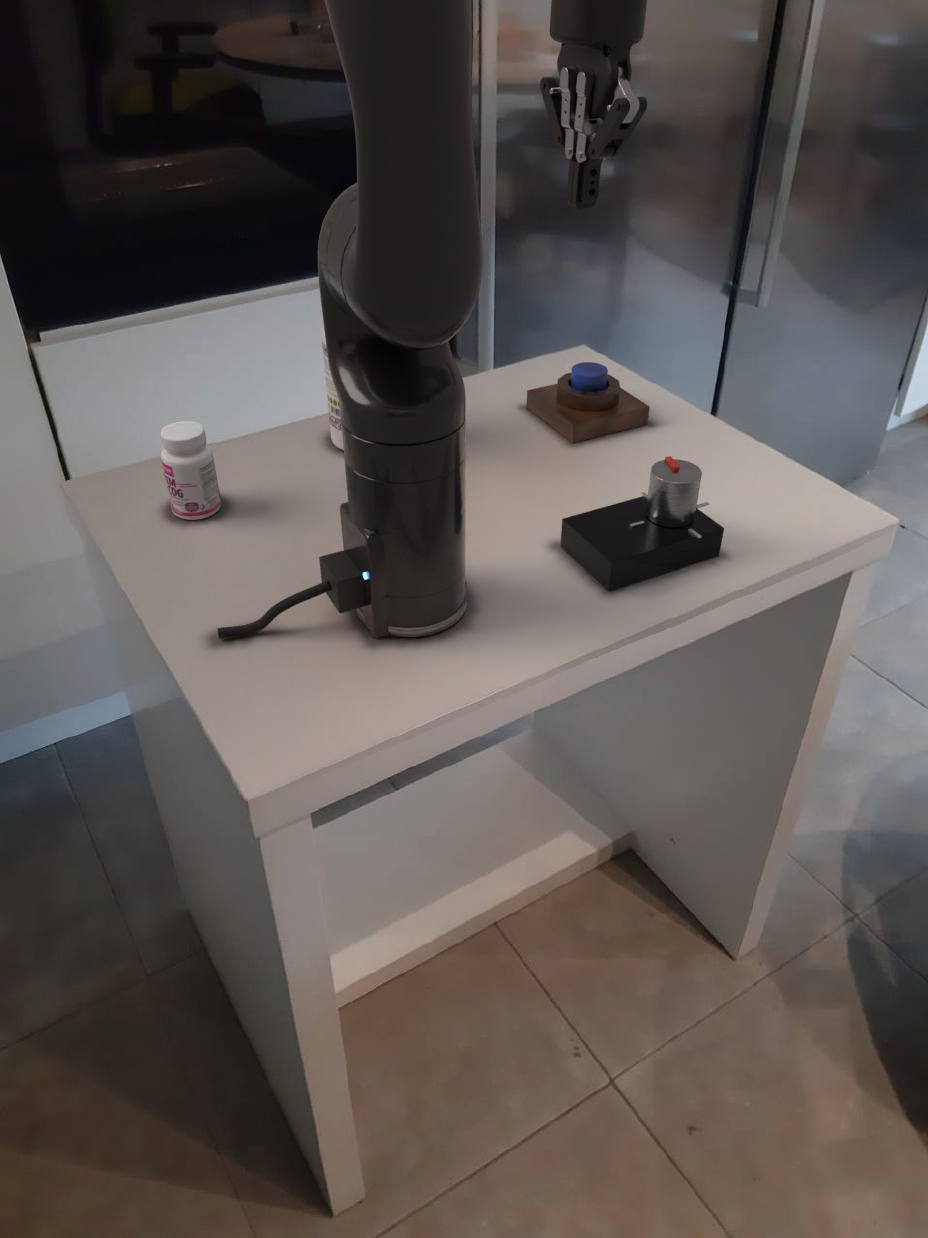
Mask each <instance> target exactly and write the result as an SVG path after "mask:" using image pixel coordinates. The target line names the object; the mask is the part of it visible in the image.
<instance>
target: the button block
mask: <svg viewBox="0 0 928 1238" xmlns="http://www.w3.org/2000/svg"><path fill="white" fill-rule="evenodd" d="M571 373H572V371H571V372H567V373H564V374H563V375H562V376H560V377H559V378H557V383H554V384H550V385H544V386H541V387H536V388H532V389H528V390H526V409H527V410H529V411H530V412H531V413H532V414H534V415H535V416H536V417H538V418H539V419H540V420H541V421H543V422H544V423H545V424H547V425H548V426H549V427H551V428H552V429H554V431H556V432H557V433H559V434H560V435H561V436H562V437H564V438H565V439H566V440H568V441H569V442H570V443H571V444H574V443H578V442H582V441H587V440H590V439H594V438H598V437H602V436H606V435H607V436H608V435H611V434H614V433H619V432H623V431H627V430H631V429H634V428H635V429H636V428H638V427H639V428H640V427H642V426H646V425H648V423H649V416H650V409H651V408H650V406H649V404H647V403H645V402H644V401H643V400H641V399H639V398H638V397H636V396H634V395H633V394H632V393H629V392H628V391H627V390H625V389H624V388H622V387H621V385H620V380H619V379H618V378H615V377H614V376H612V375H611V374H609V373H608V376H607V386H606V389H605V390H602V391H597V392H583V391H580V390H576V389H573V388H572V387H571Z"/></svg>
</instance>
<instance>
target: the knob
mask: <svg viewBox="0 0 928 1238" xmlns="http://www.w3.org/2000/svg"><path fill="white" fill-rule="evenodd" d="M649 474H650V475H649V481H648V483H649V484H648V491H647V495H648V497H647V505H646V516H647V518H648V519H649V520H650V521H652V522H653V523H655V524H658V525H661V526H665V527H683V526H686V525H689V524H690V523H692V522H693V520H694V519H695V513H696V507H697V505H698V499H699V493H700V488H701V482H702V475H703V472H702V469H701V468H700V467H699V466H698V465H696V464H695V463H693V462H691V461H688V460H683V459H678V458H677V459H676V458H673V457H672V456H671V455H669V456H665V457H664V459H661V460H659V461H656V462H655V463H654V464H653V465H652V466H651V468H650V473H649Z"/></svg>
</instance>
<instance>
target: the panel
mask: <svg viewBox="0 0 928 1238" xmlns="http://www.w3.org/2000/svg"><path fill="white" fill-rule="evenodd" d="M640 495H641V496H638V497H635V498H632V499H628V500H625V501H621V502H617V503H613V504H610V505H607V506H603V507H600V508H596V509H592V510H589V511H585V512H581V513H578V514H575V515H571V516H568V517H564V518H562V519H561V532H560V547H561V548H562V549H563V551H565V552H566V553H567V554H568V555H569V556H570V557H571V558H572V559H573V560H574V561H576V562H577V563H578V564H579V565H580V566H581V567H582V568H583V569H584V570H586V572H588V573H589V574H590V576H591V577H593V578H594V579H595V580H596V581H597V582H598V583H600V584H601V585H602V586H603V587H604V588H605V589H606V590H607V591H608V592H611V591H614V590H617V589H620V588H623V587H626V586H630V585H632V584H636V583H639V582H641V581H642V582H643V581H645V580H648V579H651V578H655V577H657V576H661V575H664V574H668V573H670V572H674V571H676V570H679V569H680V570H681V569H683V568H686V567H690V566H692V565H695V564H699V563H702V562H705V561H707V560H708V561H709V560H711V559H714V558H717V557H720V553H721V549H722V543H723V537H724V532H725V527H723V526H722V525H721V524H719V523H718V522H717V521H715V520H714V519H712V518H711V517H710V516H709V515H707V514H706V513H704V512H703V511H702V510H700V509H701V508H703V507H707V506H710V502H708V501H706V502H702V503H697V507H696V513H695V519H694V520H693V522H692V523H690V524H689V525H686V526H683V527H665V526H661V525H658V524H655V523H653V522H652V521H650V520H649V519H648V518H647V516H646V505H647V497H648V493H646V492H644V491H643V492H641V493H640Z"/></svg>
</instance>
